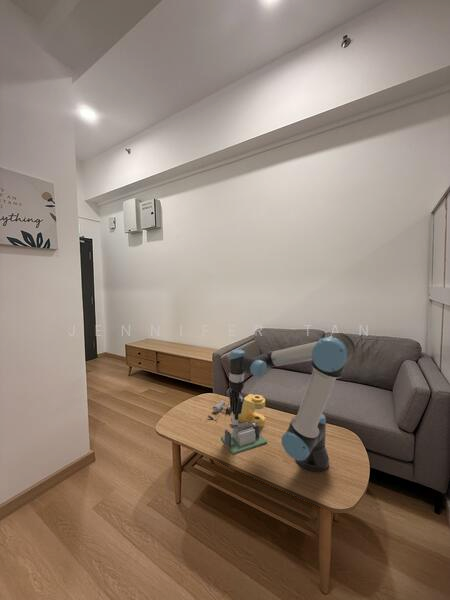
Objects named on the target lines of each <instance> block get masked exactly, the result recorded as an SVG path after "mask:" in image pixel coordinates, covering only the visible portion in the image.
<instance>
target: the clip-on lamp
mask: <svg viewBox="0 0 450 600" xmlns="http://www.w3.org/2000/svg"><path fill="white" fill-rule="evenodd" d="M224 405H226V401H225V400H224V399H221V400H219V402H217V403H216V404H214V405H213V407H212V410H213V412H214V413H216V414H217V415H220V414H221V413H222V412H224V411H225V416H227V415H228V416H230V415H231V414H232V408H230V403H228V404H227V405H226V407H225V406H224ZM207 418H209V419H210V420H212V421H216V420H217V419H218V418H219V416H217V417H216V418H215V419H214V417H213V416H211V415H208V414H207Z"/></svg>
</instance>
